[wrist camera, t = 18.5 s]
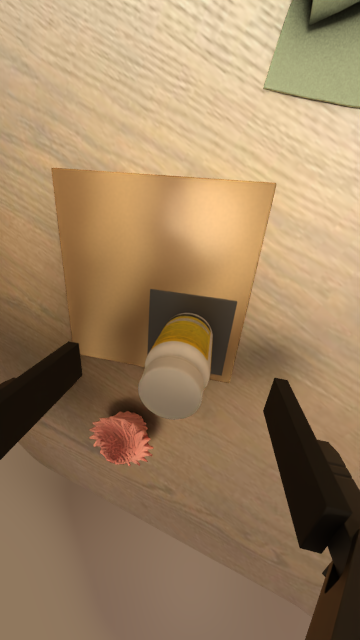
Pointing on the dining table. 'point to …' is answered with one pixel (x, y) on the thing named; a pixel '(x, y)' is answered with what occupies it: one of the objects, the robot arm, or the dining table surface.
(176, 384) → the supplement bottle
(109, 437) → the pink ruffled round piece
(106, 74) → the dining table surface
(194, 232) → the board
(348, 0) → the cloth
